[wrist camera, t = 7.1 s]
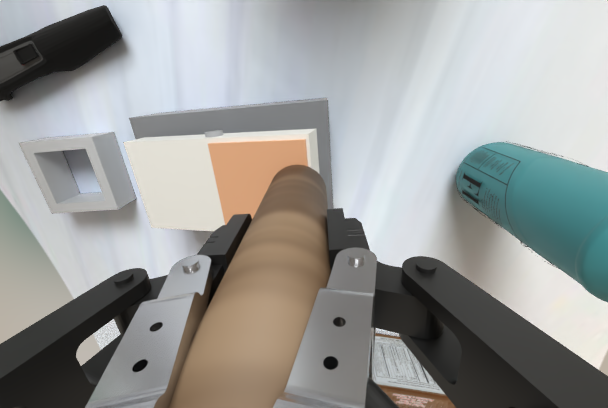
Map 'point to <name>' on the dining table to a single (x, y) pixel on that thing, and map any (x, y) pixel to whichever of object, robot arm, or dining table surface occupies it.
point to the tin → (405, 376)
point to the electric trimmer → (56, 48)
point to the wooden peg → (262, 300)
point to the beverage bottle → (544, 206)
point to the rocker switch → (213, 173)
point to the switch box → (247, 125)
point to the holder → (60, 181)
